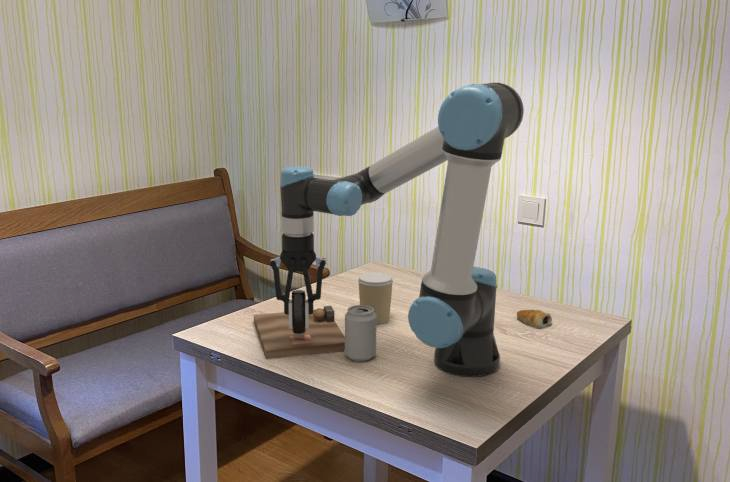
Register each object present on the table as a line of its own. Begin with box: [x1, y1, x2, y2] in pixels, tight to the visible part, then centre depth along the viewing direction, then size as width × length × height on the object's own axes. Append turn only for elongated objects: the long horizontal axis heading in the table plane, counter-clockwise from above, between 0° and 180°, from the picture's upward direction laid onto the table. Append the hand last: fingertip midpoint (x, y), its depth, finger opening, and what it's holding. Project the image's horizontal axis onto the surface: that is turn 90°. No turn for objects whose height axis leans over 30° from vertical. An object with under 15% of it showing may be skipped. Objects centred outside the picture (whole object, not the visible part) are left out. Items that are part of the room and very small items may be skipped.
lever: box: [291, 289, 307, 339], centre depth 181 cm, size 22×4×12 cm, turn 2°
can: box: [344, 304, 377, 362], centre depth 168 cm, size 8×8×12 cm
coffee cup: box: [357, 271, 394, 325], centre depth 191 cm, size 9×9×12 cm
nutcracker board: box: [253, 305, 345, 360], centre depth 181 cm, size 24×20×5 cm
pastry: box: [516, 309, 553, 330], centre depth 191 cm, size 9×7×4 cm
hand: (299, 326), depth 173 cm, fingers closed on lever, 3 cm apart
